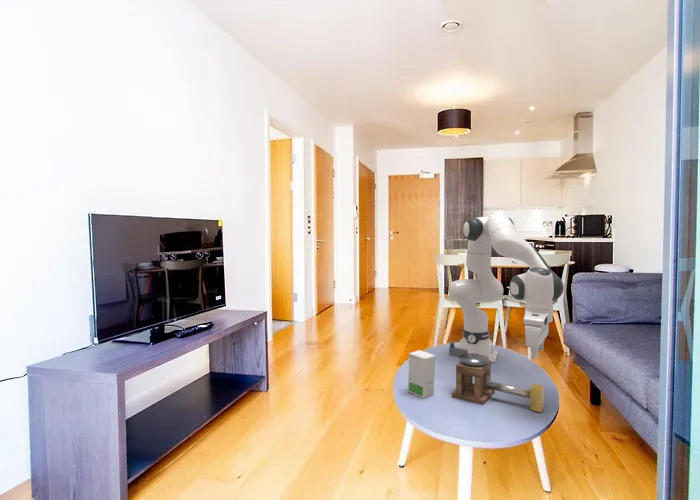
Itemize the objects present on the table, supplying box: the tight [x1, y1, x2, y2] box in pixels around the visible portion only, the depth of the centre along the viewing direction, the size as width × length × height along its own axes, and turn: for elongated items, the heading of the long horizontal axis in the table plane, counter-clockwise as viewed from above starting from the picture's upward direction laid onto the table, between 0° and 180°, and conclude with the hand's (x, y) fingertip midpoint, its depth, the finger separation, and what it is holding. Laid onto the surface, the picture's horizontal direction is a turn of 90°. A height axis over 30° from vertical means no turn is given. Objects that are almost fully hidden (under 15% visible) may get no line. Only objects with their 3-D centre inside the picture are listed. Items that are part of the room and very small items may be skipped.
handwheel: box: [448, 341, 489, 367], centre depth 155 cm, size 16×11×6 cm
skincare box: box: [407, 349, 436, 399], centre depth 156 cm, size 8×7×16 cm
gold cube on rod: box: [485, 375, 545, 413], centre depth 146 cm, size 4×20×8 cm, turn 54°
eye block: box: [451, 360, 495, 406], centre depth 154 cm, size 14×12×12 cm
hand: (537, 353), depth 141 cm, fingers open, 8 cm apart
